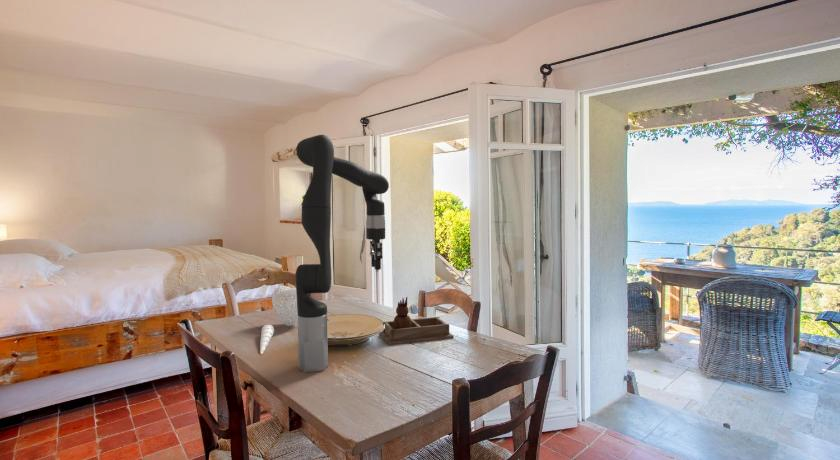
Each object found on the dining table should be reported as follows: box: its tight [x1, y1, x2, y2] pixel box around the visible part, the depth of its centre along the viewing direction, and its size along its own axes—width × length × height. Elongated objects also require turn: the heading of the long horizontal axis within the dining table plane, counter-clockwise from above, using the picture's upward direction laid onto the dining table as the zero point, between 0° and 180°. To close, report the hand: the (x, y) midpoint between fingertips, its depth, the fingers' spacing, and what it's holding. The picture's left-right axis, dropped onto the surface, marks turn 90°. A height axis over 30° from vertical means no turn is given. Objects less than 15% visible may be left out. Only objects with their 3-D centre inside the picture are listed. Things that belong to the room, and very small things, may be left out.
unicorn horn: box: [259, 324, 275, 355], centre depth 154 cm, size 5×24×5 cm, turn 11°
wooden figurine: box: [393, 296, 412, 329], centre depth 162 cm, size 7×6×15 cm
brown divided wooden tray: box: [379, 316, 455, 346], centre depth 164 cm, size 16×26×5 cm, turn 108°
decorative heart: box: [271, 285, 298, 328], centre depth 178 cm, size 18×11×17 cm, turn 57°
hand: (376, 268), depth 162 cm, fingers open, 8 cm apart
